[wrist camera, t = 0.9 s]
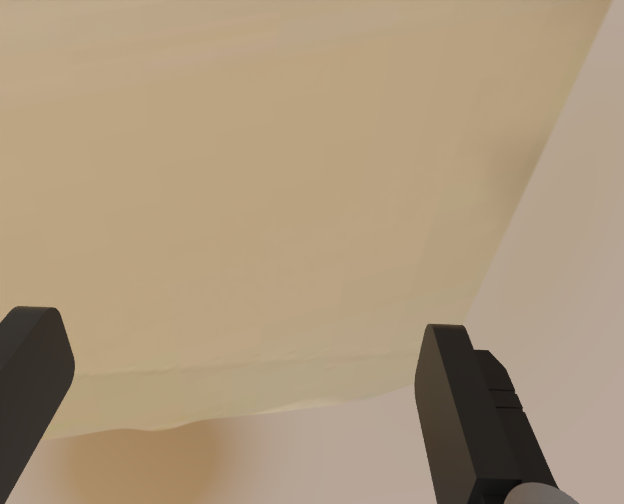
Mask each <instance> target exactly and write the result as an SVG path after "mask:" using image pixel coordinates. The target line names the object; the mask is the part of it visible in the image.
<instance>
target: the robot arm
mask: <svg viewBox="0 0 624 504" xmlns="http://www.w3.org/2000/svg"><path fill="white" fill-rule="evenodd" d="M74 370H75V361H74V356H73V353H72V350H71V347H70V343H69V340H68V337H67V334H66V331H65V327H64V324H63V321H62V318H61V315H60V313H59V311H58V310H57V309H56V308H53V307H28V306H17V307H15V308H13V309H12V310H11V311H10V312H9V313H8V314H7V316H6V317H5V318H4V319H3V320H2V322H1V323H0V504H5V502H6V500H7V498H8V497H9V495H10V493H11V491H12V489H13V488H14V486H15V484H16V482H17V481H18V479H19V477H20V475H21V473H22V472H23V470H24V468H25V466H26V464H27V463H28V461H29V459H30V457H31V456H32V454H33V452H34V450H35V448H36V447H37V445H38V443H39V441H40V439H41V438H42V436H43V434H44V432H45V431H46V429H47V427H48V425H49V423H50V422H51V420H52V418H53V416H54V414H55V413H56V411H57V409H58V407H59V406H60V404H61V402H62V400H63V398H64V397H65V395H66V393H67V391H68V389H69V388H70V386H71V383H72V380H73V376H74ZM415 398H416V404H417V409H418V414H419V419H420V423H421V428H422V433H423V438H424V443H425V447H426V452H427V457H428V462H429V466H430V471H431V476H432V481H433V486H434V491H435V495H436V500H437V504H579V503H578V502H576V501H575V500H574V499H573V498H572V497H571V496H569V495H567V494H566V493H564V492H563V491H561V490H560V489H559V488H558V486H557V484H556V482H555V481H554V478H553V476H552V474H551V472H550V469H549V467H548V465H547V462H546V460H545V458H544V456H543V453H542V451H541V449H540V446H539V444H538V442H537V439H536V437H535V435H534V432H533V430H532V428H531V426H530V423H529V421H528V419H527V416H526V414H525V412H523V410H522V408H523V407H522V405H521V403H520V400H519V398H518V396H517V394H515V389H514V387H513V384H512V382H511V380H510V377H509V375H508V373H507V370H506V369H505V368H504V366H503V365H502V364H501V363H500V362H499V361H498V360H497V359H496V358H495V357H494V356H493V355H492V354H491V353H490V352H489V351H488V350H474V349H473V346H472V344H471V341H470V339H469V336H468V334H467V331H466V328H465V327H464V326H463V325H446V324H428V325H427V326H426V329H425V333H424V337H423V342H422V346H421V351H420V355H419V360H418V364H417V369H416V374H415Z"/></svg>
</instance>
